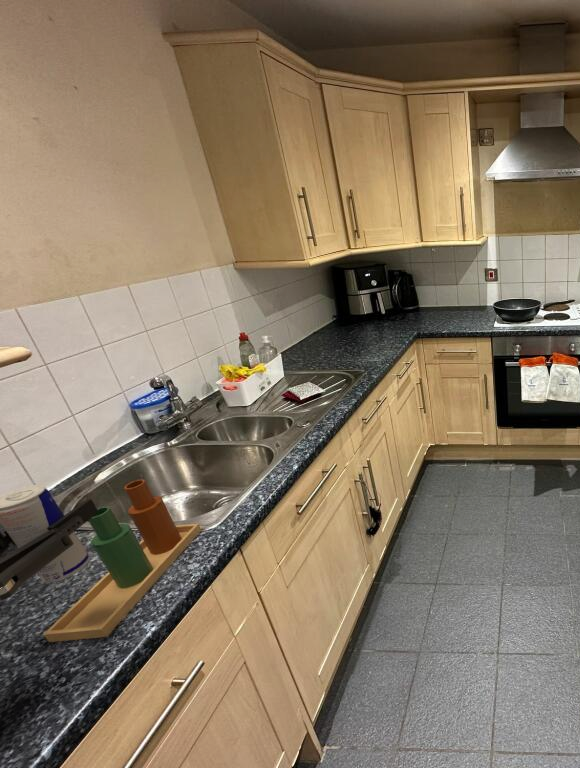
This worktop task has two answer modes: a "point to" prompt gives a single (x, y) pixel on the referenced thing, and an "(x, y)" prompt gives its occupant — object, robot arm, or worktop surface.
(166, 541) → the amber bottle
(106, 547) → the green bottle
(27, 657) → the worktop surface
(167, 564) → the tray
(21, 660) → the worktop surface
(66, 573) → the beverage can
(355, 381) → the worktop surface
